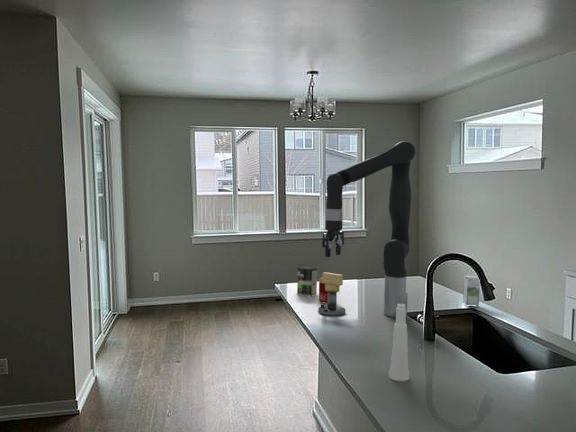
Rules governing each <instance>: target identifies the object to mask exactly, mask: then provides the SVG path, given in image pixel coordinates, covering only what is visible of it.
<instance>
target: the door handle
mask: <svg viewBox="0 0 576 432" xmlns="http://www.w3.org/2000/svg"><path fill="white" fill-rule="evenodd" d="M343 278H344V275H343V274H339V273H332V272H328V271H327V272H326V271H325V272H322V277H319V279H320V280H319V279H318V284H319V283H325V291H326V292H337V293H338V292H340V287H341V286H343V282H344V281H343V280H344V279H343Z"/></svg>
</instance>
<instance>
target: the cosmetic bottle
mask: <svg viewBox="0 0 576 432" xmlns="http://www.w3.org/2000/svg"><path fill="white" fill-rule="evenodd" d="M397 306H398V307H397V308H396V317H395V323H394V326H393V335H392V348H391V350H392V351H391V360H390V367H389V372H388V377H389V379H391V380H392V381H396V382H407V381H409V380H410V372H409V361H408V359H409V358H408V356H409V355H408V324H407V322H406V320H407V318H406V317H407V315H406V308H405V305H404V304H397Z"/></svg>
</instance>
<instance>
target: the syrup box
mask: <svg viewBox="0 0 576 432" xmlns="http://www.w3.org/2000/svg"><path fill="white" fill-rule="evenodd" d="M478 276H479V275H477V274H464V276H463V277H464V279H463V296H462V297H463V298H462V304H463V303H465V304H466V305H476V306H479V303H480V288H481V287H480V285H481V281H480V282H479V279H478Z"/></svg>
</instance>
